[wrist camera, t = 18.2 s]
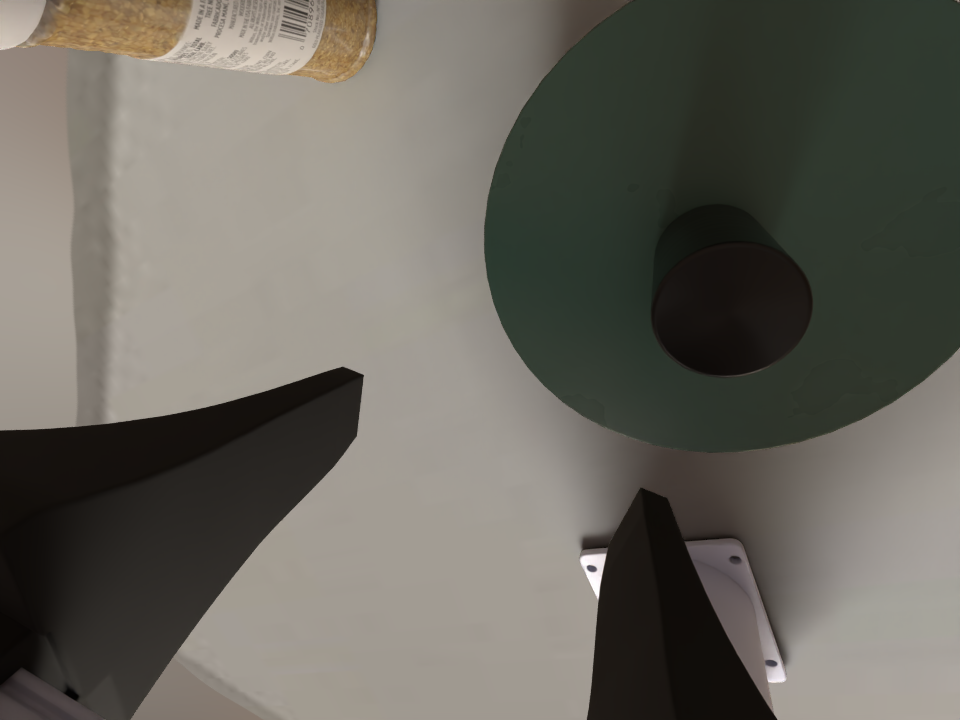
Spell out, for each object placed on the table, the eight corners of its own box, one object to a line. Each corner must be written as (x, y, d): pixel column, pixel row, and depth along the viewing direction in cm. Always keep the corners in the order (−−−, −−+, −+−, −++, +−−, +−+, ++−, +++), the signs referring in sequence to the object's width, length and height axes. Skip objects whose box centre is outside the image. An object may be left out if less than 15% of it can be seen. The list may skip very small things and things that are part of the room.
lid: (1030, 379, 11) (1264, 544, 7) (577, 459, 16) (546, 582, 12) (963, -189, 8) (1315, -552, 4) (431, 134, 13) (318, 140, 9)
